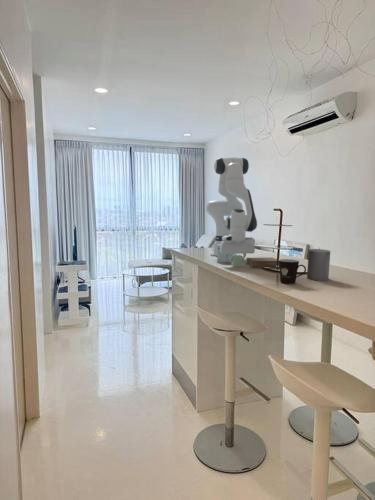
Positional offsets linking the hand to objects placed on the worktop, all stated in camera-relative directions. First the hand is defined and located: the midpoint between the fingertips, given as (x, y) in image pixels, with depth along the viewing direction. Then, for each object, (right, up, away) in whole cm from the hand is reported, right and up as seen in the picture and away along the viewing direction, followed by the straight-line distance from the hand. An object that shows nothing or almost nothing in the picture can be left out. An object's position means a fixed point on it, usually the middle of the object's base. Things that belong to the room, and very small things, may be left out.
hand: (236, 261), depth 198 cm
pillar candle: (+33, -7, -36) cm, 50 cm away
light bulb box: (-5, -1, +15) cm, 16 cm away
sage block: (0, -3, 0) cm, 3 cm away
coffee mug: (+17, -9, -48) cm, 51 cm away
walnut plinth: (+15, -3, -1) cm, 16 cm away
